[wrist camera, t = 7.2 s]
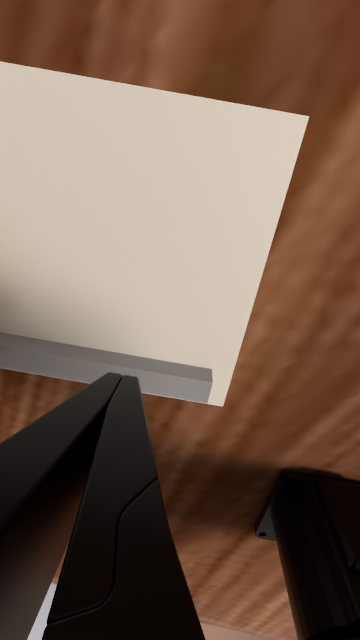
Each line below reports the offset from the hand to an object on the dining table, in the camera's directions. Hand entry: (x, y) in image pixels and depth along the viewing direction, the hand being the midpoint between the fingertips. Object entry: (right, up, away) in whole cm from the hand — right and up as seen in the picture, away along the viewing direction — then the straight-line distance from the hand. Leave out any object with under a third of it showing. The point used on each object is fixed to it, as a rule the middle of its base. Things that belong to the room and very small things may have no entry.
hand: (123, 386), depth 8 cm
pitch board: (-7, +5, +4) cm, 10 cm away
